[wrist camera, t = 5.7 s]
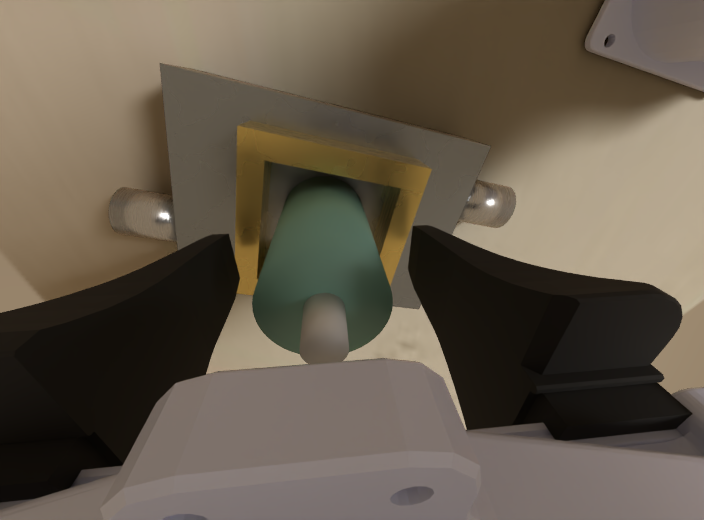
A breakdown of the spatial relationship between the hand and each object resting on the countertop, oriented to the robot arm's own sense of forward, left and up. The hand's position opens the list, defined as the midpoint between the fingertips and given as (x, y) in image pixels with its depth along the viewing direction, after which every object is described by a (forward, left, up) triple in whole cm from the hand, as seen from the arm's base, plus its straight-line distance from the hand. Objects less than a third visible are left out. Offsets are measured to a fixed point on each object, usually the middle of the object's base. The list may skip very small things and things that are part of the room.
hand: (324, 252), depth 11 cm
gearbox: (0, 0, -6) cm, 6 cm away
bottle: (0, 0, -3) cm, 3 cm away
